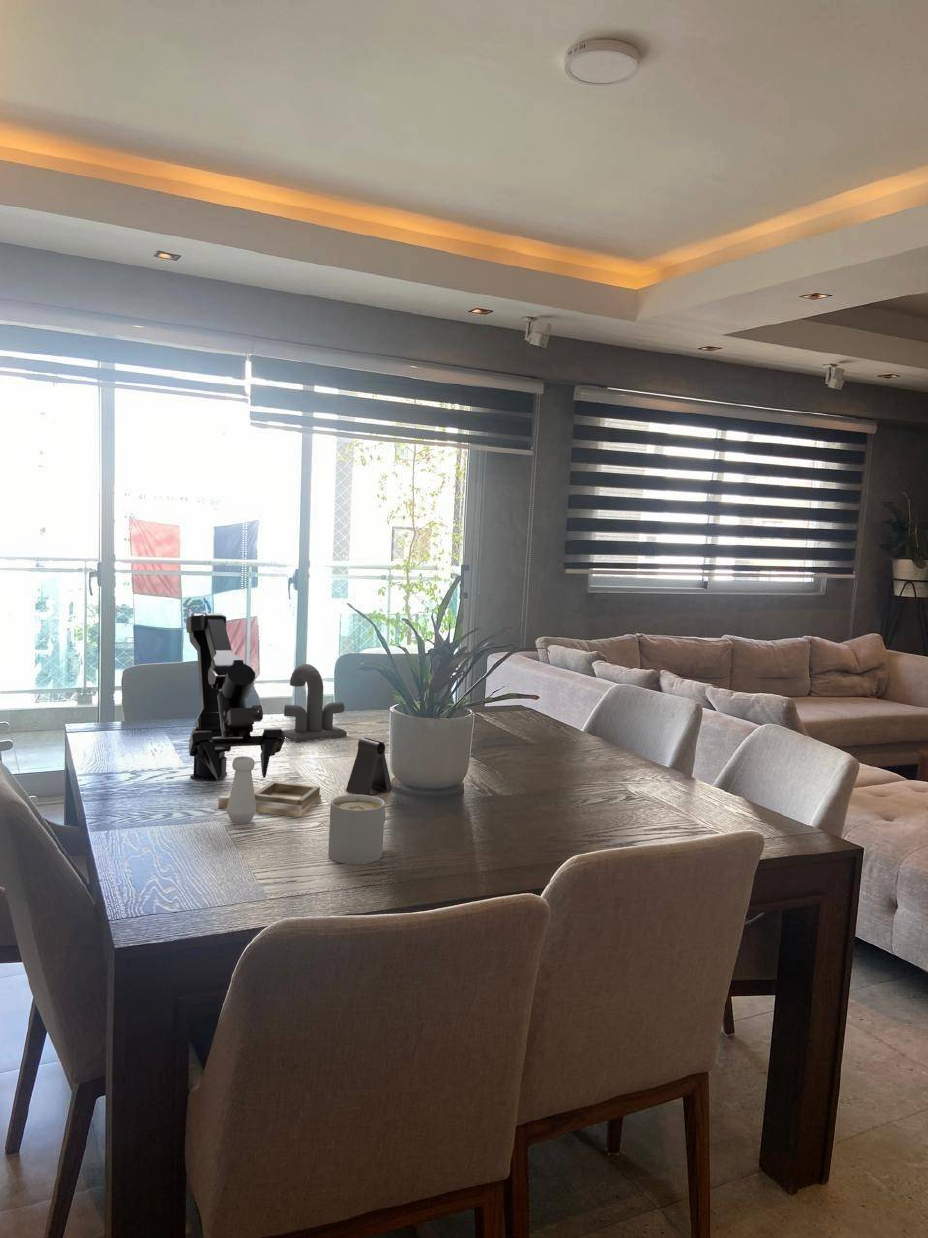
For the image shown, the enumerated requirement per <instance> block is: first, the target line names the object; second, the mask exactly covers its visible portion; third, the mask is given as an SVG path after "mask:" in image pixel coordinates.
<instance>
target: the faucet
mask: <svg viewBox="0 0 928 1238" xmlns="http://www.w3.org/2000/svg"><path fill="white" fill-rule="evenodd" d="M290 676H291V677H290V680H289V685H290V686H291V687H304V686H307V696H306V697H307V698H306V699H307V700H306V709H305V708H304V707H302V706H301V705H299V704H284V709H283V716H284V717H293V718H295V720H294V724H295V725H294V728H293V729H292V728H291V729H284V730H283V729H282V730H283V731H284V735H285V737H286V738H288V739H290V740H292V741H291V742H293V741H295V742H296V743H301V741H303V742H308V741H307V740H311V741H316V740H315V739H319V740H322V739H321V738H327V739H330V738H329V737H335V738H342V737H347V736H348V732H347V731H346V730H345V729H342V728H340V727H337V726H335V725H334V714H335V715H336V714H342V713H344V711H345V704H344V702H343V701H335V702H334V701H333V702H329V703H327V704H326V705H325V706H323V705H324V683H323V678H322V676H321V673H320V672H319V670H318V669H317V668H316V667H315V666H313V665H312V664H310V663H309V664H307V663H302V664H300V665H298V666H297V667H296V668H295V669H294V670H293V672H292V673H291V675H290ZM288 739H287V740H288ZM290 740H289V741H290ZM295 742H294V743H295Z"/></svg>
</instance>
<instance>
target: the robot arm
mask: <svg viewBox="0 0 928 1238" xmlns="http://www.w3.org/2000/svg"><path fill="white" fill-rule="evenodd" d="M185 626H186V632H187V634H188V638H189V639H188V640H189V642H190V644H191V645H192V646H193V648H194V649H195V650H196V651H197V668H198V686H199V687H198V688H199V700H200V701H199V702H200V703H199V704H200V711H199V714H198V716H197V717H196V720H194V722H193V723H194V726H193V728H192V731H191V733H190V736H189V743H188V753H189V756H190V757H193V774H191V775H190V776H189V778H190V779H197V780H207V781H214V782H215V781H220V779H221V778H223V777H225V776H227V775H228V772H227V759H228V758H227V757H226V753H230V751H231V750H232V747H255V746H260V767H261V775H262V778H266V776H267V773H268V772H267V771H268V768H269V762H270V757H273V756H275V755H276V754H277V753H280V752H281V750H282V747H283V745H284V742H285V740H286V739H285V735H284V731H283V729H282V728H277V727H276V728H264V729H263V733H262V734H261V735H251V733H253V732H254V726H253V725H254V724H255V723H258V722H261V721H263V718H264V715H263V707H262V704H255V705H252V706H251V707H247V701H246V699H247V698H249V696H250V693H251V689H252V687H253V685H254V683H255V682H254V681H255V679H256V672H255V670H254V669H253V668H252V667H251V666H249V665H248V664H245V663H244V662H245V661H244V660H243V659H242V658H241V657H239V656H238V655H236V654H235V653H234V652H233V650H232V646H231V642H230V639H229V635H228V632H227V616H226V615H225V614H222V612H221V613H217V612H215V613H213V612H212V613H210V612H205V613H199V612H198V613H192V614H191V615H190V616H188V618H186V625H185Z"/></svg>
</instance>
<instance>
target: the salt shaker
mask: <svg viewBox="0 0 928 1238" xmlns="http://www.w3.org/2000/svg"><path fill="white" fill-rule="evenodd" d="M231 763H232V764H231V766H232V769H233V770H234V777H233V782H232V785H231V789H230V794H229V795H230V798H229V802H228V806H227V808H226V813H227V815H228V817H229V819H230V821H231V823H232V824H237V825H244V824H249V823H251V822H252V821H253V819H254V816H255V814H256V813H257V812H256V809H257V808H256V801H255V794H254V787H255V786H254V783H253V774H252V771H253V770H254V769H255V764H256V763H255V759H253V758H252V757H251V756H244V755H243V756H242V755H241V756H237V757H235V758H233V761H232V762H231Z"/></svg>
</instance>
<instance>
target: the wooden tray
mask: <svg viewBox="0 0 928 1238" xmlns="http://www.w3.org/2000/svg"><path fill="white" fill-rule="evenodd" d="M253 787H254V794H255V801H256V808H257V809H256V812H255V813H264V814H269V815H270V814H273V815H279V816H280V815H281V816H288V817H295V818H300V817H302V816H303V815H304V814H306V813H307V812H308V811H309V810H311V808H313V807H314V806H316V804H318V803H319V802H320V801H322V800H321V799H322V795H321V793H320V791H321V790H320V789H321V786H317V785H308V784H307V785H306V784H298V783H289V782H279V781H273V780H272V781H271V782H269V783H267V784H266V785H265V786H263V787H262V786H261V787H259V786H253ZM229 798H230V794H228V795H220V796H218V799H217V800H218V806H217V808H220V807H222V809H223V808H224V809H227V806H228V802H229ZM318 801H319V802H318ZM317 802H318V803H317ZM313 805H314V806H313ZM312 806H313V807H312ZM307 810H308V811H307ZM306 811H307V812H306Z"/></svg>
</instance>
